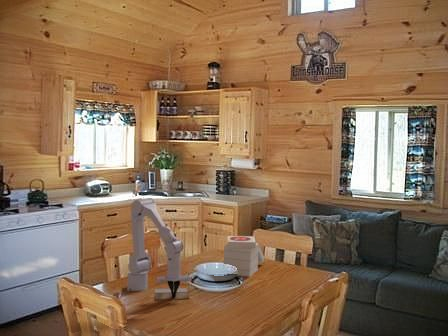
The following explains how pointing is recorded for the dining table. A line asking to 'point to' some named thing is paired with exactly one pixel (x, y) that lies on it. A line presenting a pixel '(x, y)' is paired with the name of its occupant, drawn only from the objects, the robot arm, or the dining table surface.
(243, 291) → the dining table surface
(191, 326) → the dining table surface
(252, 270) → the pizza boxes
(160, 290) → the grey board
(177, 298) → the walnut plank
